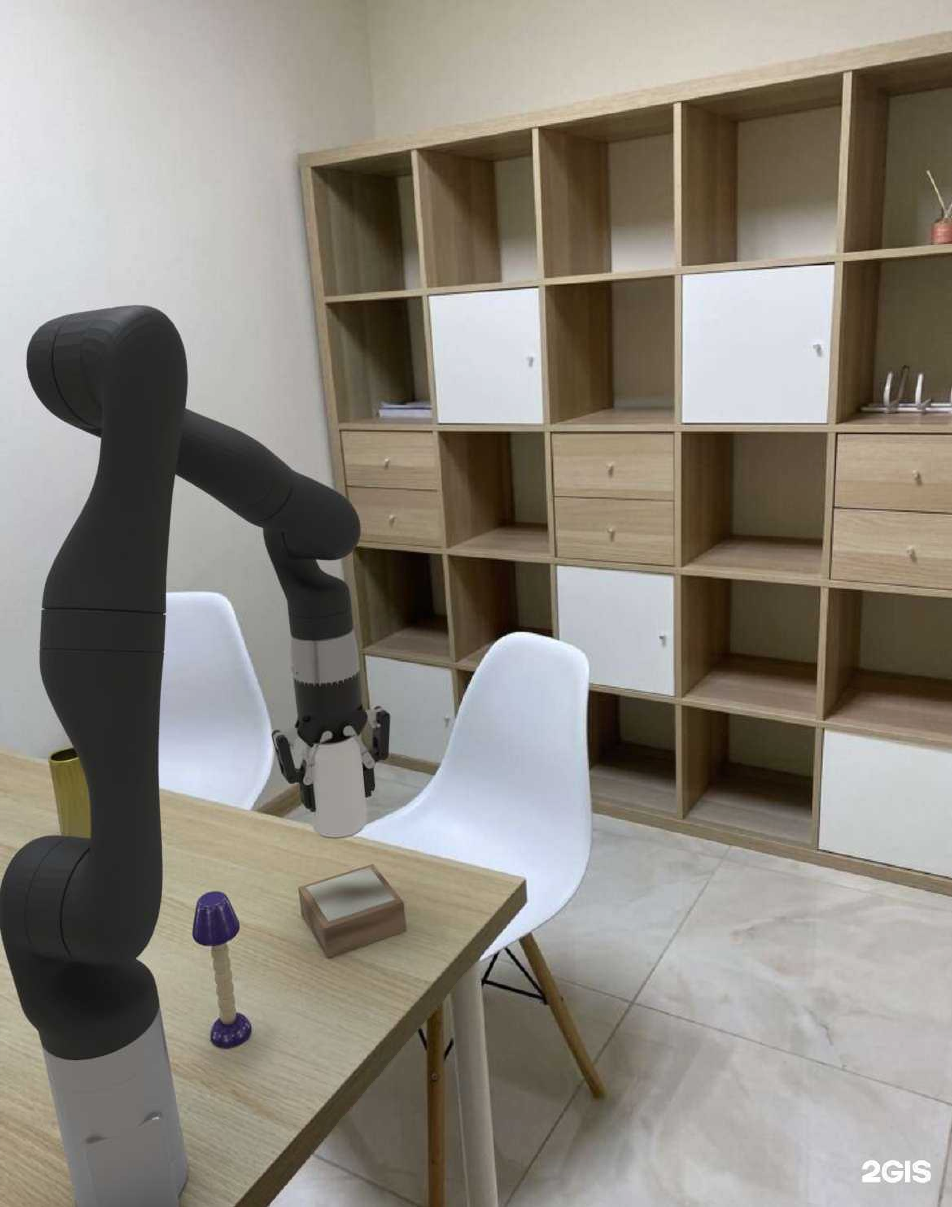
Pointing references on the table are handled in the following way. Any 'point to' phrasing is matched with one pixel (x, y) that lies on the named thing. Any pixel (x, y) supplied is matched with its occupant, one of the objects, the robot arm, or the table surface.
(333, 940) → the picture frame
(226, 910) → the toy lamp
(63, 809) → the vase
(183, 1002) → the table surface
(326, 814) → the can
